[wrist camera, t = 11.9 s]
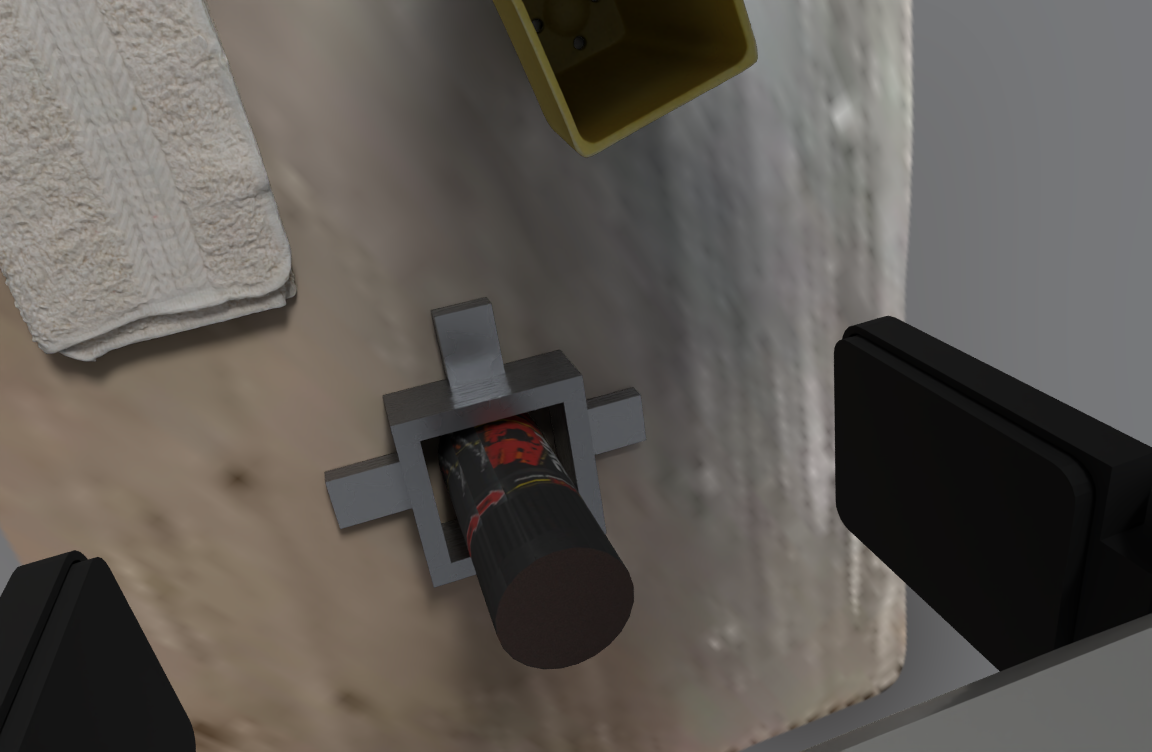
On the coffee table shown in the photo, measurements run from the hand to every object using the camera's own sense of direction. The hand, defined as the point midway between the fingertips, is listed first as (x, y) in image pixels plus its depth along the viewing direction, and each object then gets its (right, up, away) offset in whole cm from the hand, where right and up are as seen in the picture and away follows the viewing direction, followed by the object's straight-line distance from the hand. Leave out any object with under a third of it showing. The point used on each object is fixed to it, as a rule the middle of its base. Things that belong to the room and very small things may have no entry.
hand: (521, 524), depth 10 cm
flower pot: (0, +19, +29) cm, 35 cm away
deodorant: (-4, -2, +36) cm, 36 cm away
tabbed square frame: (-4, -2, +36) cm, 36 cm away
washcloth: (-20, +12, +25) cm, 35 cm away
